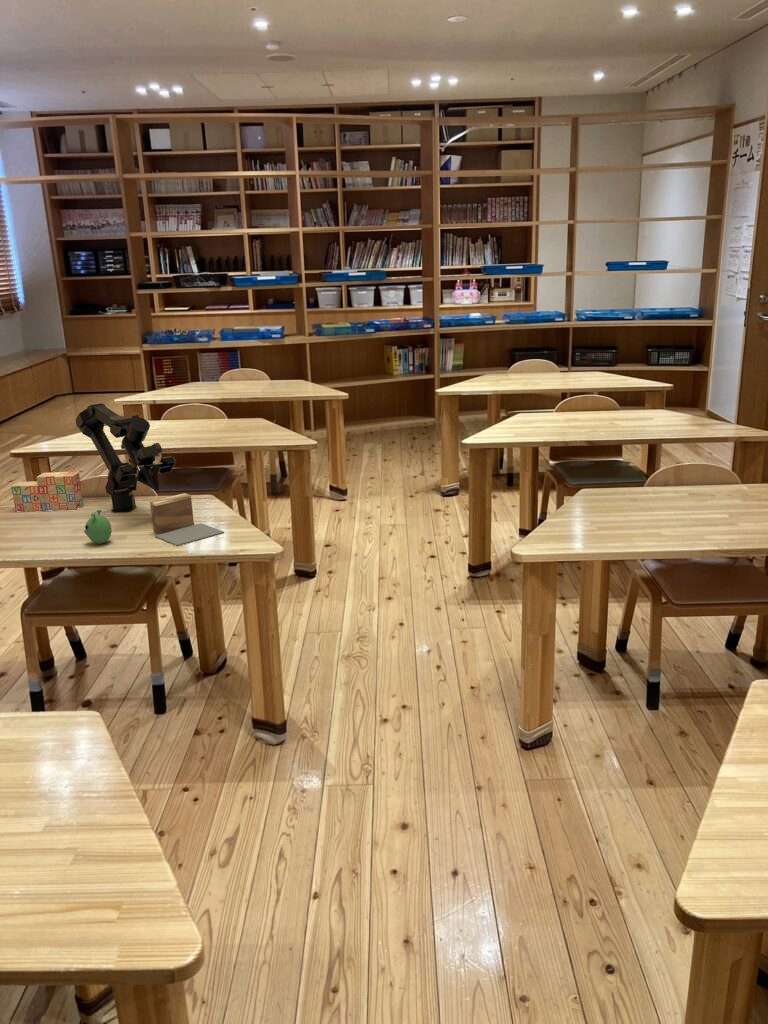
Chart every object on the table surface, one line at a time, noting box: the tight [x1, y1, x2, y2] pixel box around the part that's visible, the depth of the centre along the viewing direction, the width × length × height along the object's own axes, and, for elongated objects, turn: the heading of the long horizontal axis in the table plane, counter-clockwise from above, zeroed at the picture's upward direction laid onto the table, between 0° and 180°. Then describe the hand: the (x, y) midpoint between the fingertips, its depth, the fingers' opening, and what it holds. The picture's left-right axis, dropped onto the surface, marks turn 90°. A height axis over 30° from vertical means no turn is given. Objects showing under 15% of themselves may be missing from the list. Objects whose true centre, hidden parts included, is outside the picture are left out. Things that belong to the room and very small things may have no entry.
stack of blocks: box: [10, 471, 84, 512], centre depth 275 cm, size 21×6×12 cm, turn 89°
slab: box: [149, 492, 195, 535], centre depth 248 cm, size 4×12×10 cm, turn 134°
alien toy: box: [83, 509, 112, 545], centre depth 237 cm, size 7×8×10 cm
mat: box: [154, 522, 225, 547], centre depth 243 cm, size 13×16×1 cm
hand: (157, 490), depth 252 cm, fingers closed
